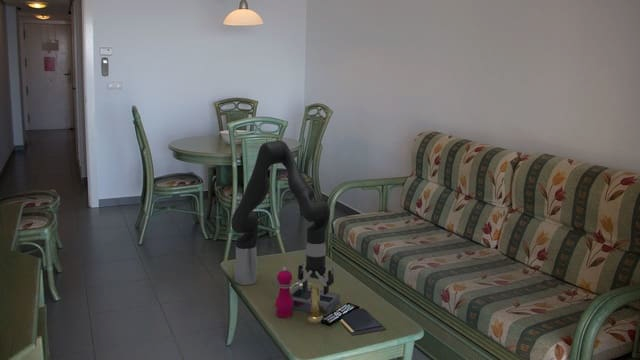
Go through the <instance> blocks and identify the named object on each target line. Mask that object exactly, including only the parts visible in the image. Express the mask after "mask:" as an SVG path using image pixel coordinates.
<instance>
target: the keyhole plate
mask: <svg viewBox="0 0 640 360" xmlns="http://www.w3.org/2000/svg"><path fill="white" fill-rule="evenodd" d="M290 294H291V297H292V299H293V307H292V310H297V311H302V312H307V313H310V312H311V287H308V289H307V290H306V291H304V289H303V288H302V285H299V286H298V287H297V288H296V289H295V290H293V291H292V292H290ZM340 303H341V293H336V292H331V291H329V292H328V293H327V294H326V295H324V290H321V289H320V304H319V313H322V314H323V316H325V317H327V316H328V315H330V313H331V312H332V311H333V310H334V309H335V308H336V307H338V305H339V304H340Z"/></svg>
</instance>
